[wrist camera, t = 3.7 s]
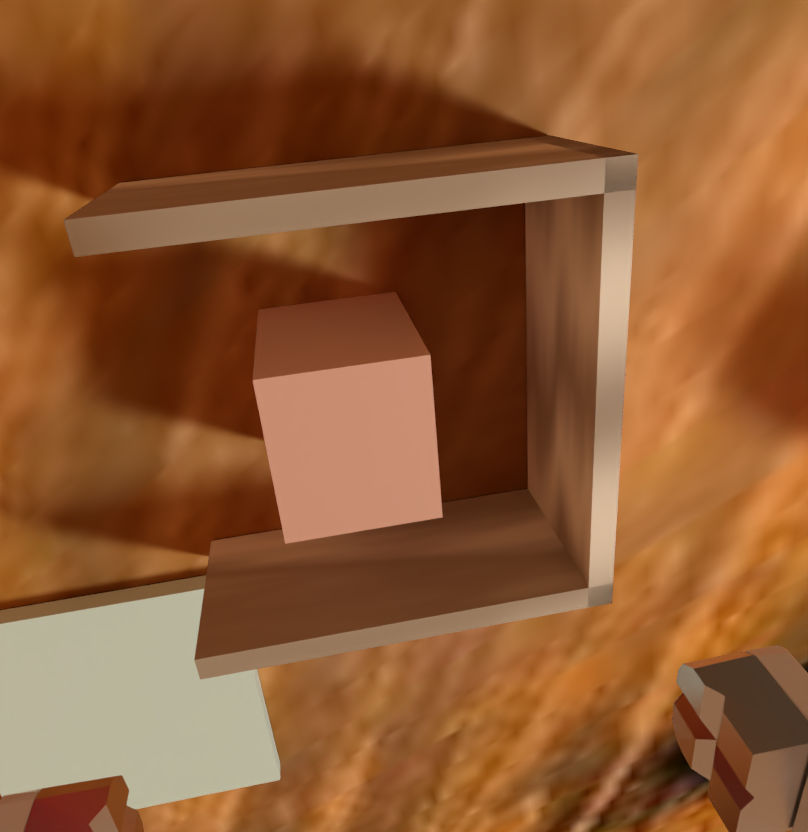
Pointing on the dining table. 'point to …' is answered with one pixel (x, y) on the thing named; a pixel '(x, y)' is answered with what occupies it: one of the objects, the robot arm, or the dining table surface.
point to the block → (347, 416)
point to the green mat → (126, 699)
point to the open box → (546, 399)
